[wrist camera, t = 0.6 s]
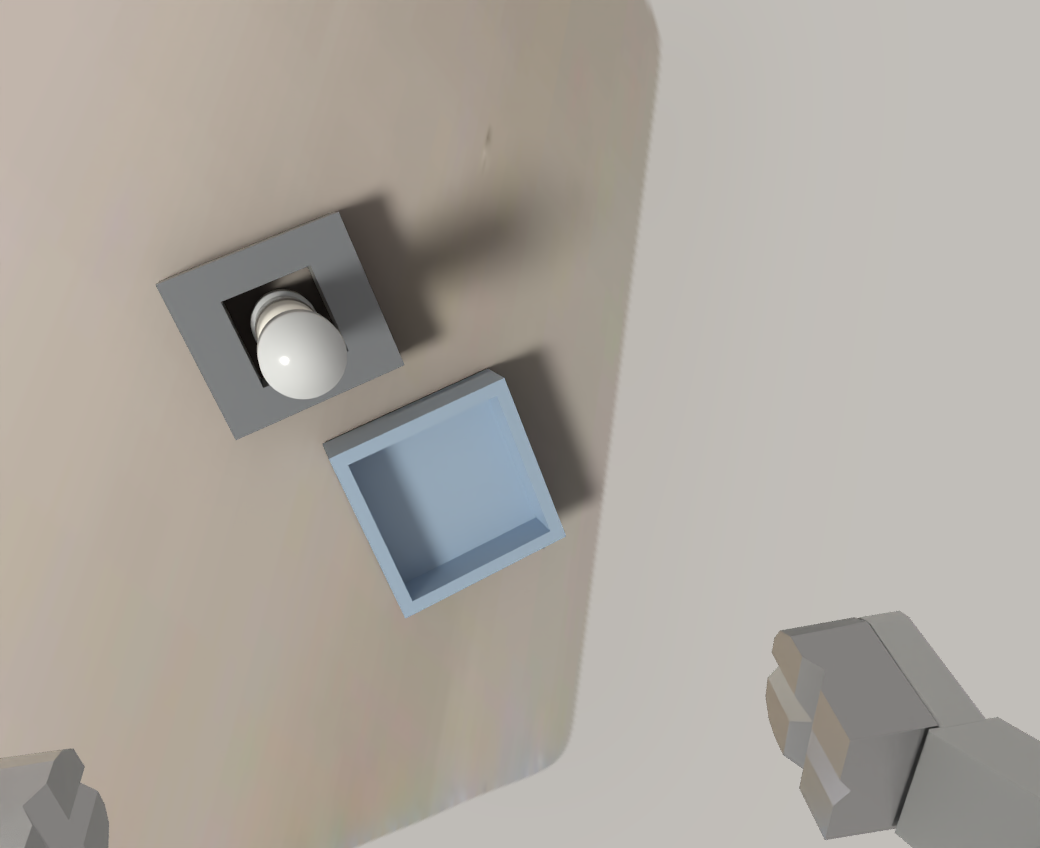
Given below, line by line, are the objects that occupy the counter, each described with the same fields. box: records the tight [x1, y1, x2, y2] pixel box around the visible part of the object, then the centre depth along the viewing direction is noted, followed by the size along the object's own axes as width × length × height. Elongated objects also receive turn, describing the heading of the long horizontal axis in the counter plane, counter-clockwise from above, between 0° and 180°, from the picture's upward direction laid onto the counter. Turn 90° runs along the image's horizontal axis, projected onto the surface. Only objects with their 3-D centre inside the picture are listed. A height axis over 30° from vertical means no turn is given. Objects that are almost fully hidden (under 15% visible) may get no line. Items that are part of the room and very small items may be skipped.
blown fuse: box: [250, 289, 347, 399], centre depth 42 cm, size 4×4×14 cm
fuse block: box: [156, 212, 404, 440], centre depth 47 cm, size 9×10×3 cm
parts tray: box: [323, 368, 566, 618], centre depth 52 cm, size 11×11×4 cm
